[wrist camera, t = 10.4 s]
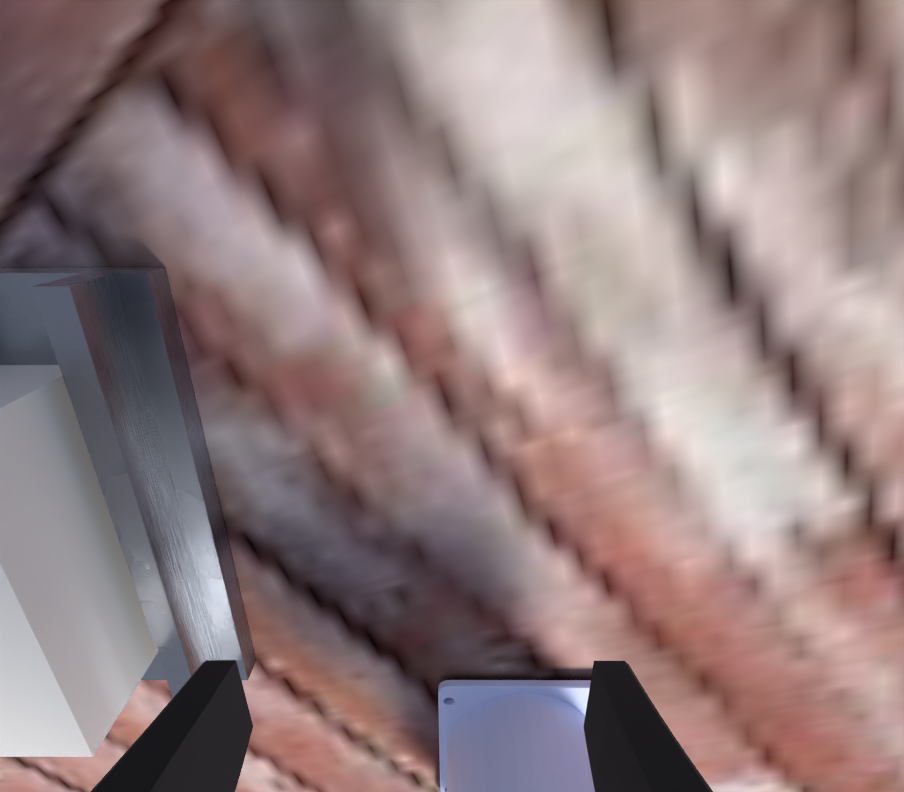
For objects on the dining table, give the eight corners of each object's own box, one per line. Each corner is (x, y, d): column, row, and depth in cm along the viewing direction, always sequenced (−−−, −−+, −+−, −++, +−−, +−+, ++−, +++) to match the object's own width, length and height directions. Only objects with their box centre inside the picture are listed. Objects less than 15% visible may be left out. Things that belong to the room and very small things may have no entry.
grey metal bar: (171, 630, 21) (93, 756, 17) (89, 630, 21) (-12, 756, 17) (84, 365, 16) (-60, 439, 12) (-22, 365, 16) (-208, 439, 12)
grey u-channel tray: (256, 660, 23) (229, 725, 20) (64, 659, 23) (11, 724, 21) (164, 267, 16) (104, 286, 13) (-115, 267, 16) (-233, 287, 13)
